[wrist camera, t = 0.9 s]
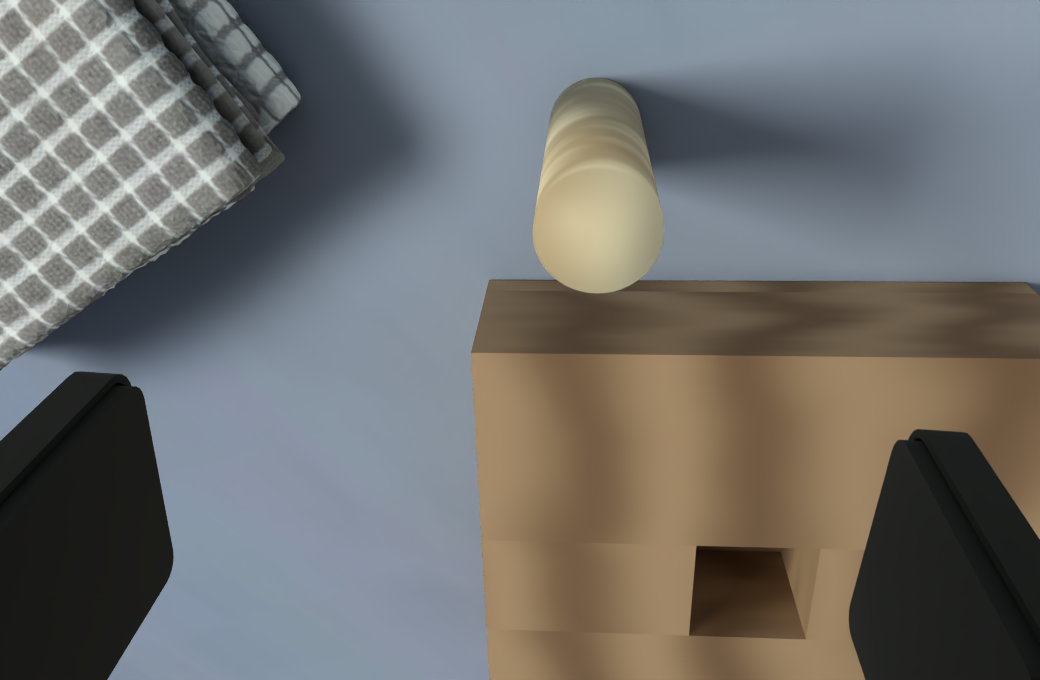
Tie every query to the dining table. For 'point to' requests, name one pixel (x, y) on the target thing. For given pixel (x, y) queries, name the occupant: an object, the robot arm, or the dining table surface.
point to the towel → (120, 143)
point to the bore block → (720, 461)
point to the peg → (597, 191)
